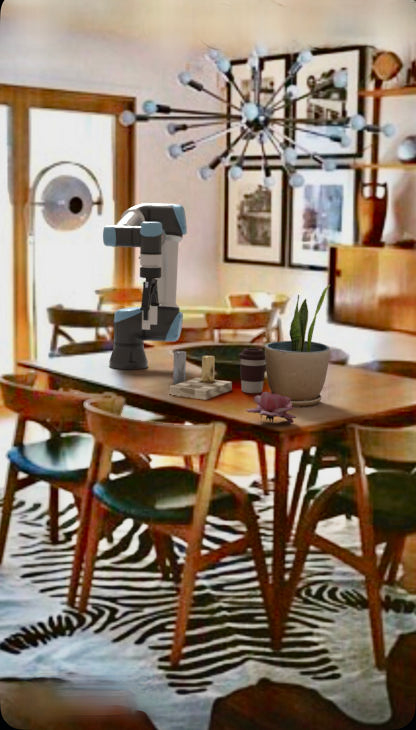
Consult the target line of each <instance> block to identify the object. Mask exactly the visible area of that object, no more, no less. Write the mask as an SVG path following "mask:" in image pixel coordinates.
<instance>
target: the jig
mask: <svg viewBox="0 0 416 730" xmlns="http://www.w3.org/2000/svg"><path fill="white" fill-rule="evenodd" d="M201 381H202V377H194V378H192V379H188V380H185V382H182V383H178V384H175V385H173V384H172V385H170V386H169V388H168V389H169V394H171V395H170V396H173V395H177V396H176V397H181V396H183V397H182V398H189V397H190V399H197V400H199V399H200V400H204V401H205V400H209V399H211V398H214V397H216V396H219V395H222V394H224V393H228V392H230V391H231V392H232V389H233V386H232V385H233V381H228V380H218V379H214V383H213V384H207V383H201ZM169 394H168V395H169Z"/></svg>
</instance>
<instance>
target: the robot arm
mask: <svg viewBox="0 0 416 730" xmlns="http://www.w3.org/2000/svg"><path fill="white" fill-rule="evenodd" d="M187 226H188V225H187V217H186V211H185V207H184V205H182V204H177V203H148V202H146V203H145V202H144V203H139V204H136V205H133V206H131V207H130V208H128V209H126V210H124V212H123V213H122V214H121V216H120V220H119V221H118V222H117V223H115V225H113V224H110V225H108V224H107V225H105V226H104V227H103V231H102V242H103V245H104V246H106V247H112V248H116V247H117V248H119V247H120V248H140V249H139V254H140V255H139V256H138V260H140V261H139V265H140V267H139V278H142V279H145V281H143V282H142V284H143V285H142V294H141V295H142V296H141V304H140V305H141V306H133V307H132V306H131V307H125V308H121V309H117V310H116V311H115V312H114V317H113V318H114V319H113V328H114V329H113V349H112V351H111V354H110V357H109V360H108V361H109V367H110V368H113V369H119V370H140V369H145V368H148V365H149V364H148V363H149V361H148V358H147V354H146V351H145V347H144V344H145V343H144V341H148V342H166V343H167V342H176V341H178V340H179V338H180V336H181V332H182V329H183V328H182V327H183V320H184V313H183V312H181V311H180V306H179V305H178V304H177V289H178V288H177V287H178V286H177V285H178V284H177V283H178V267H179V265H178V264H179V243H180V242H181V241H183V236H184V235H187V233H188V232H187V230H188V229H187Z"/></svg>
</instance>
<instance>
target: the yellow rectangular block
mask: <svg viewBox="0 0 416 730" xmlns="http://www.w3.org/2000/svg"><path fill="white" fill-rule="evenodd" d="M215 358H216V357H215V356H214V355H203V356H202V357H201V378H202V381H201V383H207V384H213V383H214V380H215V360H216V359H215Z"/></svg>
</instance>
